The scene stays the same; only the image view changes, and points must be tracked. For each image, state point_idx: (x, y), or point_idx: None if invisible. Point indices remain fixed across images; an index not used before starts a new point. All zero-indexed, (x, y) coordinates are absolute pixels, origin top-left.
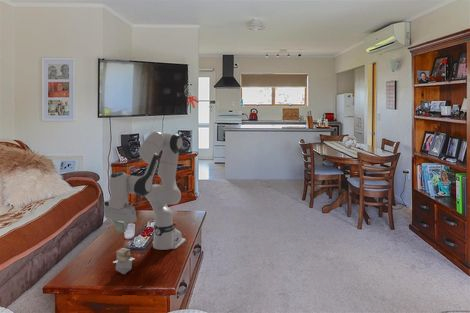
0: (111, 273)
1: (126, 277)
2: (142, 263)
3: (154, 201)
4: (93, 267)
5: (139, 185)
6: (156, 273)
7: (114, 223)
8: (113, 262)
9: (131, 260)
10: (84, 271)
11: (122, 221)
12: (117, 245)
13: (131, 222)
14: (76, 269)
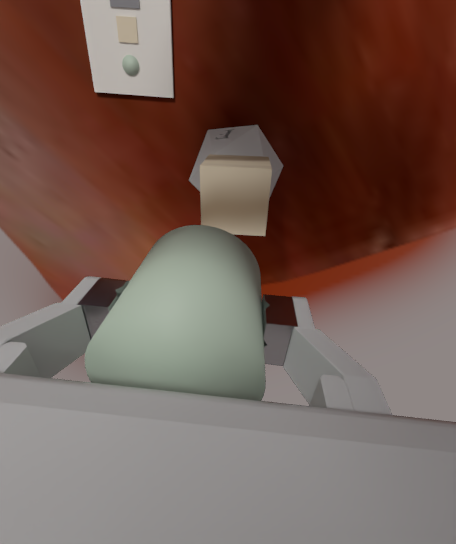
0: (193, 198)
1: (280, 203)
2: (260, 5)
3: None
4: (73, 183)
5: None
6: (411, 102)
7: (71, 359)
8: (103, 92)
9: (170, 5)
10: (81, 227)
11: (178, 349)
12: None
13: None
14: (38, 226)
